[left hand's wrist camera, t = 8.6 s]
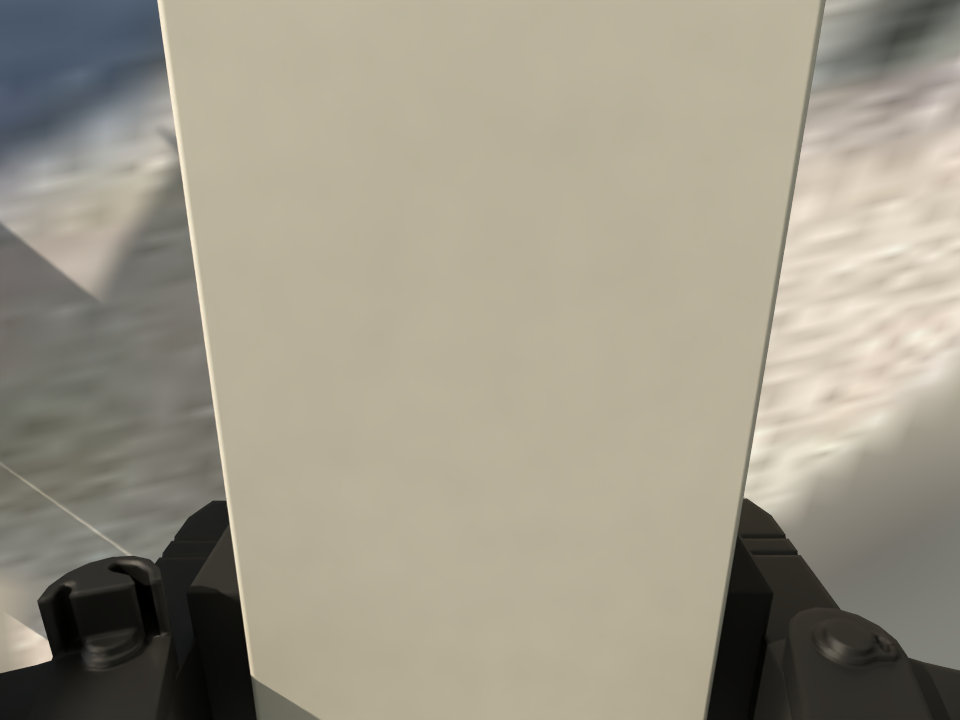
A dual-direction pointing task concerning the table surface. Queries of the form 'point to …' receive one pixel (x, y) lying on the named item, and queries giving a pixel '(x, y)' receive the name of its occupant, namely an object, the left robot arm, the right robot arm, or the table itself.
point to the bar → (487, 336)
